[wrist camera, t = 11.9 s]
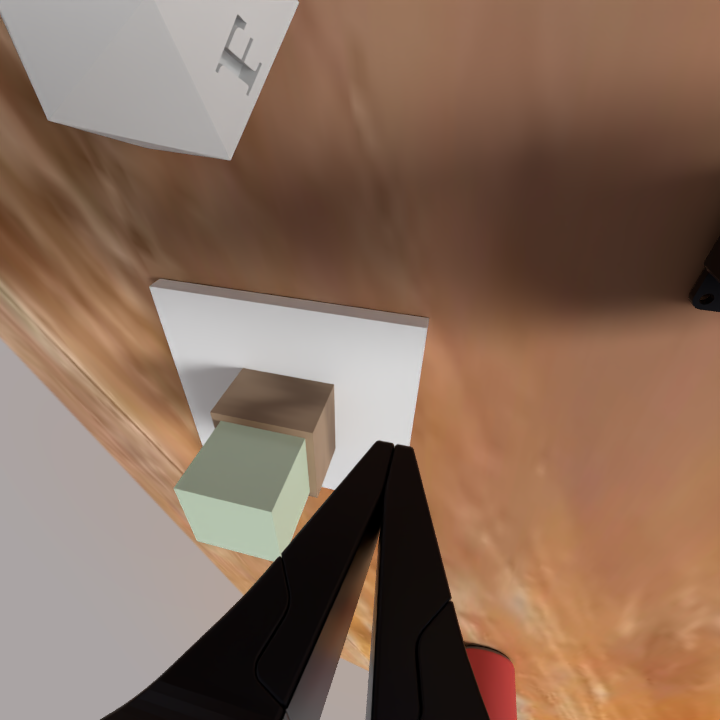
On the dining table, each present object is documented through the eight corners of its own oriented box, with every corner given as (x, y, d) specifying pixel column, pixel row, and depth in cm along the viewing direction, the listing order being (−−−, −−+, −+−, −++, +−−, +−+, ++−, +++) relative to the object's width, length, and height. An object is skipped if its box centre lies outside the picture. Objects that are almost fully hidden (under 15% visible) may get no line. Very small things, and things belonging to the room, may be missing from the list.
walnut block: (334, 384, 24) (312, 433, 21) (335, 448, 28) (317, 497, 25) (242, 367, 26) (210, 412, 22) (255, 431, 29) (229, 477, 26)
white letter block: (209, 172, 20) (248, 236, 13) (-21, 49, 15) (-163, 43, 8) (285, -7, 17) (384, -48, 10) (38, -232, 12) (-97, -621, 5)
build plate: (429, 318, 21) (427, 328, 21) (402, 493, 31) (400, 504, 30) (159, 278, 24) (149, 286, 23) (213, 451, 34) (207, 460, 33)
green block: (305, 438, 22) (271, 512, 18) (309, 492, 25) (281, 563, 22) (220, 420, 23) (173, 488, 19) (235, 474, 26) (197, 541, 22)
